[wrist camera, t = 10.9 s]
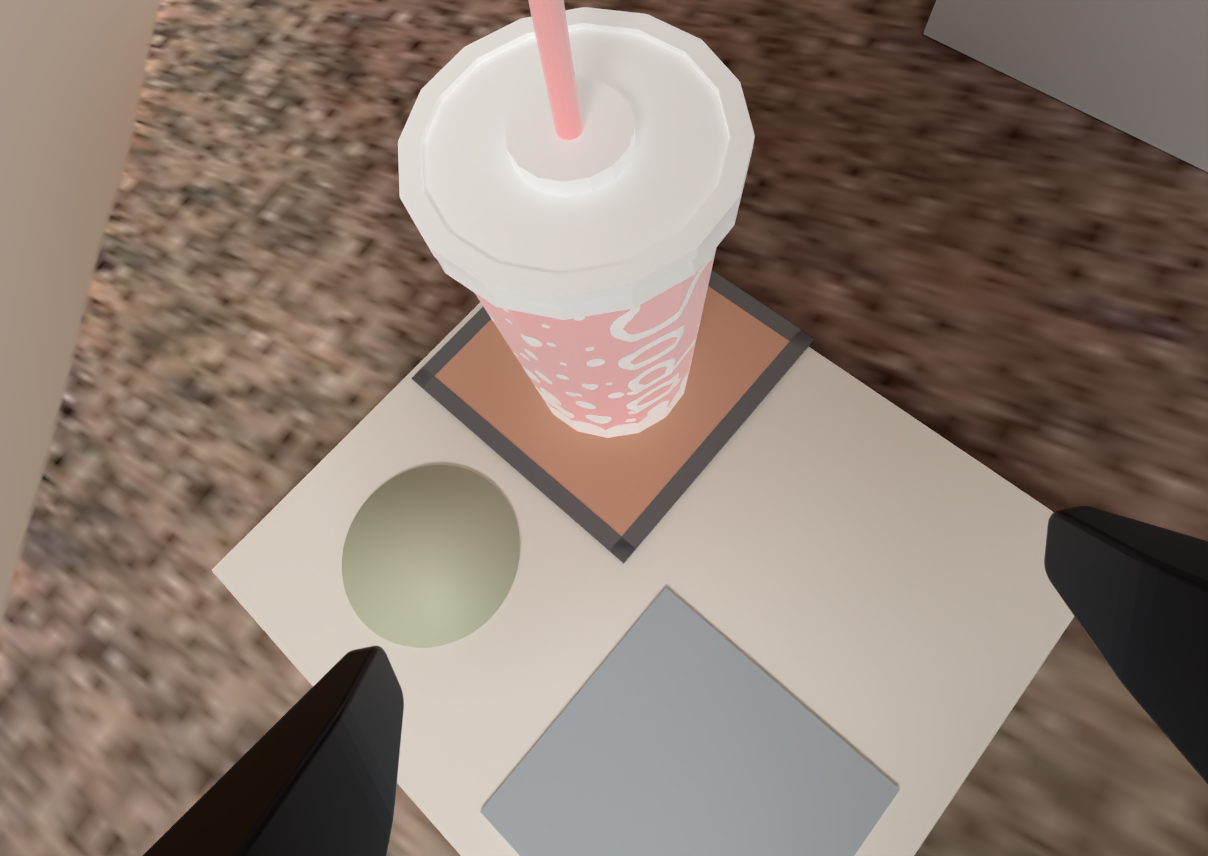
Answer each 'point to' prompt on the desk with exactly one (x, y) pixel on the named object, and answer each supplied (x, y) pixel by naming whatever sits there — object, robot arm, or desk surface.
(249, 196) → the desk surface
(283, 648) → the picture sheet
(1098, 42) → the tape holder
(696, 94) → the beverage cup
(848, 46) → the desk surface
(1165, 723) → the robot arm
